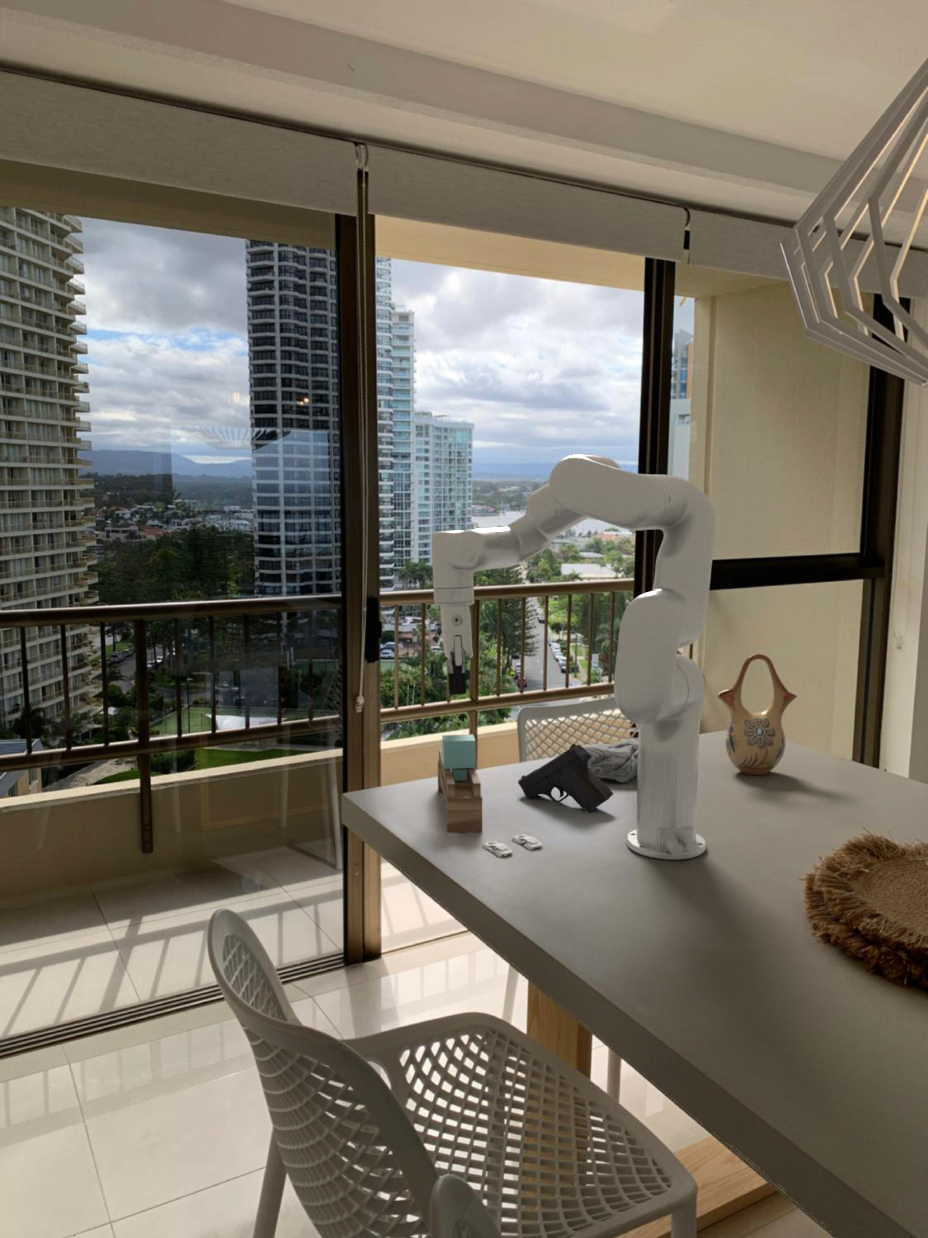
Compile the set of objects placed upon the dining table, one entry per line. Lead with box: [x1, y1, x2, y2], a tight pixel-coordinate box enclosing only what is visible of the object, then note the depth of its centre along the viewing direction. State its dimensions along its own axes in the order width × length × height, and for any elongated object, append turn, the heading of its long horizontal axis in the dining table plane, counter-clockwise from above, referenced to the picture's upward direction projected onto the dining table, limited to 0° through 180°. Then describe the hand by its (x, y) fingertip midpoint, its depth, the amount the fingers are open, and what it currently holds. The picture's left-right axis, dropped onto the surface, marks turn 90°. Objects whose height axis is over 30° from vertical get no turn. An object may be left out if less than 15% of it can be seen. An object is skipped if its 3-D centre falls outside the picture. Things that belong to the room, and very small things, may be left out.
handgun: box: [517, 743, 614, 813], centre depth 171 cm, size 4×16×12 cm
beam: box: [437, 748, 483, 834], centre depth 168 cm, size 24×6×8 cm, turn 5°
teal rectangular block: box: [441, 733, 477, 781], centre depth 166 cm, size 4×6×8 cm
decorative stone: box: [581, 738, 638, 783], centre depth 189 cm, size 15×14×10 cm
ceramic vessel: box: [716, 653, 798, 776], centre depth 189 cm, size 16×9×25 cm, turn 92°
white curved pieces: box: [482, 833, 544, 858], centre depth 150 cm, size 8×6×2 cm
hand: (457, 693), depth 174 cm, fingers closed
